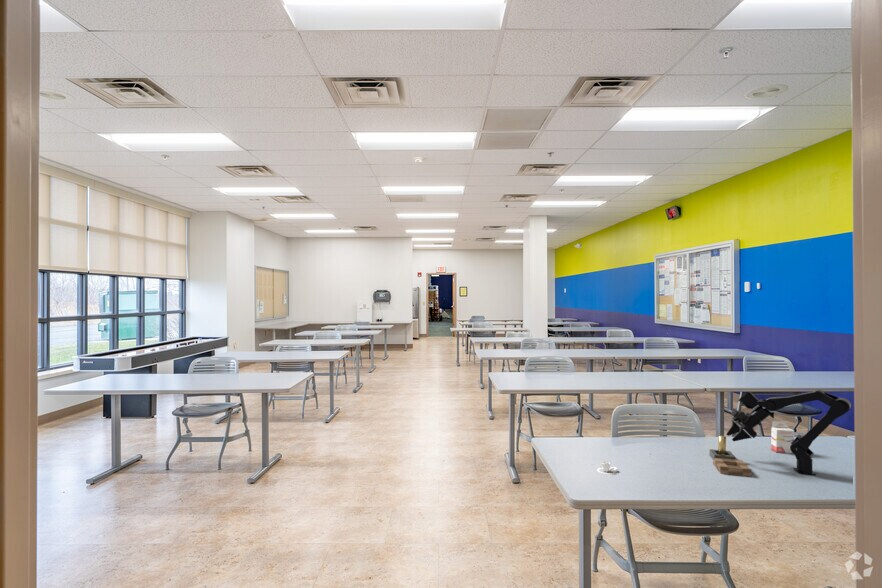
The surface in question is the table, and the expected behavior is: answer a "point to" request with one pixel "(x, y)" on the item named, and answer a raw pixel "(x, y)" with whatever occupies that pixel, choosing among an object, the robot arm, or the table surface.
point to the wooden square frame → (731, 467)
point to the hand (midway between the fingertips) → (729, 437)
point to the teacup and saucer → (607, 468)
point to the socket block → (715, 455)
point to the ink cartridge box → (781, 437)
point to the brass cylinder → (722, 445)
